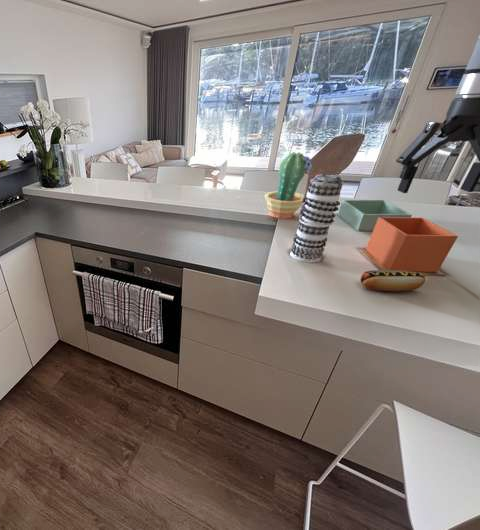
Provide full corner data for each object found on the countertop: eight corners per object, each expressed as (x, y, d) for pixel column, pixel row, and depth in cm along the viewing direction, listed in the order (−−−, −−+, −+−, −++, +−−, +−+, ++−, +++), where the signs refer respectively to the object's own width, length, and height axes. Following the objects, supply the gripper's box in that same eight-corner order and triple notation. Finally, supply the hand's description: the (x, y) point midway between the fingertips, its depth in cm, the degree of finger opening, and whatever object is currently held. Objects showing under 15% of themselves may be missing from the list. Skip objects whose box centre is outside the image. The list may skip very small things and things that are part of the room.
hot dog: (424, 295, 71) (434, 278, 68) (364, 294, 73) (371, 278, 70) (409, 284, 75) (418, 268, 72) (353, 283, 77) (360, 267, 74)
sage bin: (378, 216, 113) (384, 199, 110) (403, 232, 100) (412, 214, 96) (337, 215, 116) (342, 200, 113) (357, 232, 103) (363, 214, 99)
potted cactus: (283, 224, 113) (298, 158, 100) (252, 213, 125) (263, 152, 113) (310, 216, 118) (328, 152, 105) (278, 206, 130) (291, 147, 118)
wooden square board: (410, 252, 88) (411, 250, 88) (444, 276, 77) (445, 274, 76) (358, 250, 91) (359, 249, 91) (383, 273, 80) (384, 272, 79)
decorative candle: (282, 253, 93) (300, 175, 81) (302, 247, 96) (324, 170, 83) (307, 265, 86) (332, 182, 73) (329, 258, 89) (357, 176, 76)
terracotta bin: (406, 251, 88) (422, 217, 83) (437, 273, 77) (458, 236, 72) (365, 249, 91) (378, 217, 85) (389, 271, 80) (406, 235, 74)
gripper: (534, 90, 63) (481, 185, 74) (400, 100, 69) (369, 188, 79) (572, 89, 57) (508, 194, 68) (421, 101, 62) (384, 196, 73)
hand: (433, 191), depth 73 cm, fingers open, 13 cm apart
